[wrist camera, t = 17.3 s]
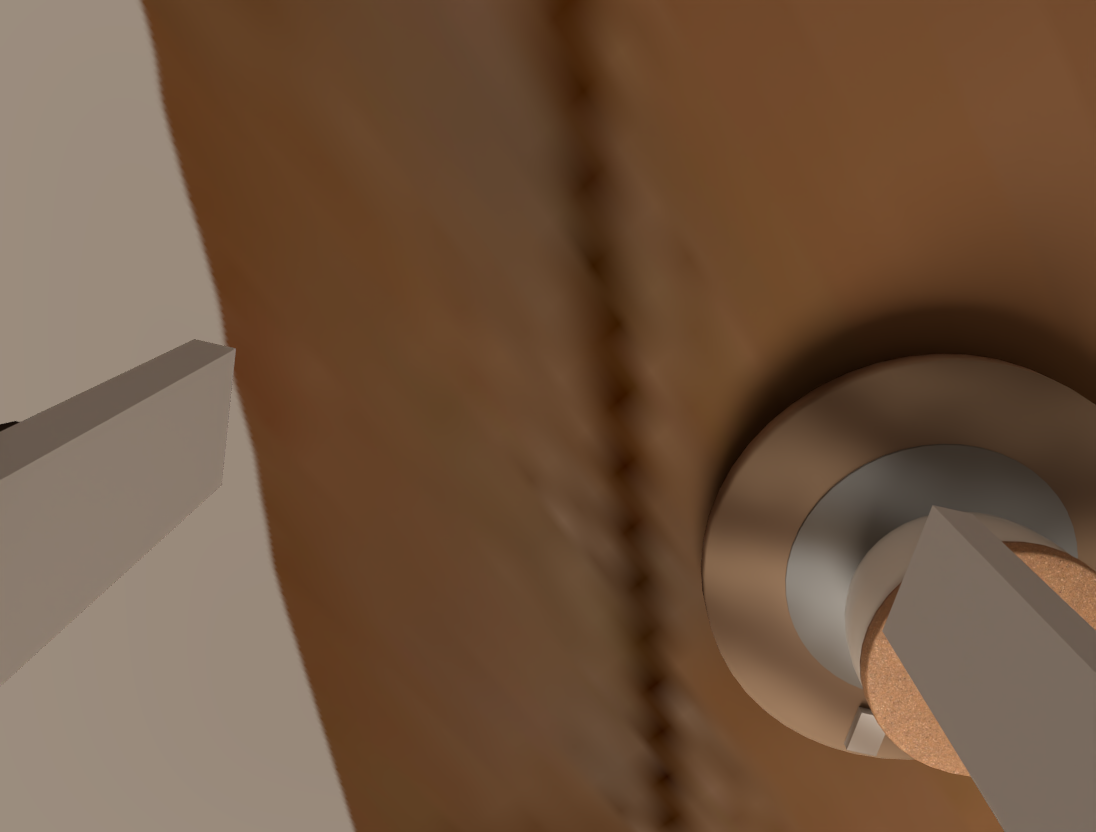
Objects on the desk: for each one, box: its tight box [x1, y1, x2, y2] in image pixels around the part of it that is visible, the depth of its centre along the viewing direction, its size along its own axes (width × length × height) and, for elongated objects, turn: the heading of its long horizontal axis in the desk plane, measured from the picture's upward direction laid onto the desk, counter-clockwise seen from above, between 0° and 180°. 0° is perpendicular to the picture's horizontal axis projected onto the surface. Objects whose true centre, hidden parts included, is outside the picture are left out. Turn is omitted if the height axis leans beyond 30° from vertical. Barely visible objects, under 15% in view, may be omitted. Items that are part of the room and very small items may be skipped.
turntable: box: [701, 354, 1096, 760], centre depth 42 cm, size 22×22×2 cm
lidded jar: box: [844, 511, 1096, 776], centre depth 36 cm, size 11×11×9 cm
